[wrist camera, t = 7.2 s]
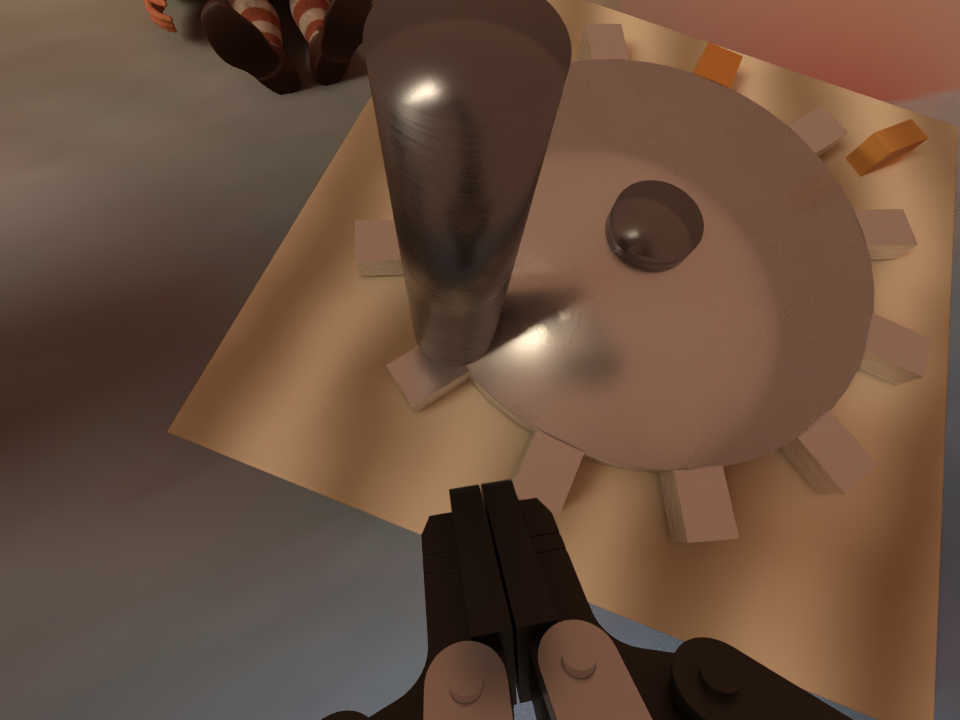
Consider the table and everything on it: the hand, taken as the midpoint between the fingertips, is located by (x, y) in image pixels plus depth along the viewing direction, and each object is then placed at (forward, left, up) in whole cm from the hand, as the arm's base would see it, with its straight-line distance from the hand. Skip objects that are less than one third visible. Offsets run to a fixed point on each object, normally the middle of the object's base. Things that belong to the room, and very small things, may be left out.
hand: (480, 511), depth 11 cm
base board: (+3, +13, -7) cm, 15 cm away
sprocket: (+3, +13, -5) cm, 14 cm away
